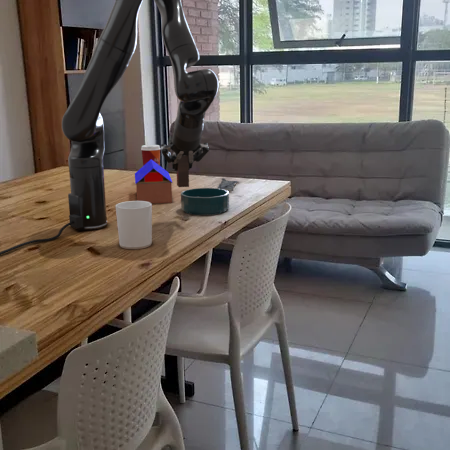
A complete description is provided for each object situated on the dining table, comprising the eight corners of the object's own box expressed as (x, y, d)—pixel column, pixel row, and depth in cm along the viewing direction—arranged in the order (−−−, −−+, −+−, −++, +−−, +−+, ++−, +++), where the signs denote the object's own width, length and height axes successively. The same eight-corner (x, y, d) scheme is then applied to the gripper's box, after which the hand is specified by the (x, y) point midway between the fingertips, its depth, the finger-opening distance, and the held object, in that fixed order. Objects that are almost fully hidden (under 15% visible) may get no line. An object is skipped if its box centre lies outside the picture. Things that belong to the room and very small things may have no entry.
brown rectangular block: (189, 186, 169) (188, 155, 167) (178, 187, 169) (178, 155, 166) (187, 185, 172) (186, 154, 170) (177, 185, 171) (176, 154, 169)
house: (136, 204, 193) (134, 168, 190) (135, 191, 212) (134, 159, 209) (173, 202, 195) (172, 167, 192) (169, 190, 214) (168, 158, 211)
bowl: (201, 218, 174) (201, 200, 173) (171, 209, 185) (171, 192, 184) (238, 210, 184) (238, 192, 182) (208, 202, 194) (208, 186, 193)
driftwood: (233, 193, 208) (233, 187, 208) (214, 192, 209) (214, 187, 209) (239, 182, 228) (239, 177, 228) (221, 182, 229) (221, 177, 228)
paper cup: (160, 183, 227) (159, 146, 224) (140, 183, 227) (139, 147, 224) (163, 179, 235) (161, 144, 231) (143, 179, 235) (142, 144, 231)
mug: (156, 248, 146) (154, 207, 143) (120, 251, 144) (117, 210, 141) (149, 236, 156) (147, 198, 154) (114, 239, 154) (112, 200, 151)
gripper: (211, 118, 160) (203, 156, 175) (160, 119, 157) (155, 158, 171) (216, 140, 156) (207, 177, 171) (163, 141, 153) (158, 179, 168)
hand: (181, 167), depth 171 cm, fingers closed on brown rectangular block, 3 cm apart
